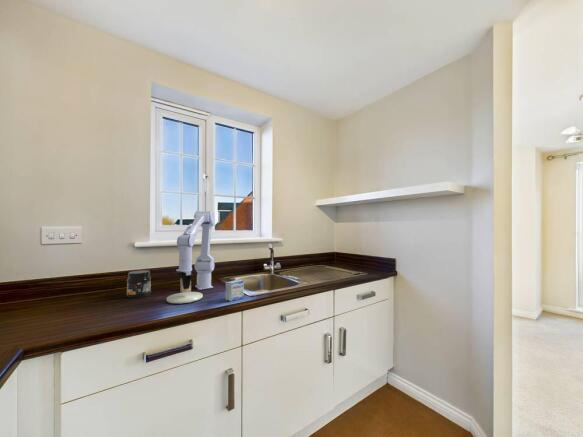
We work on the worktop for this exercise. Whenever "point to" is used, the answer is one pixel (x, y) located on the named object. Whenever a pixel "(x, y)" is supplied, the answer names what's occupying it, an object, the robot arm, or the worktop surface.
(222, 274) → the worktop surface
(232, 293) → the medicine box
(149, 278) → the supplement container
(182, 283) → the tan rectangular block
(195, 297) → the sage dish
